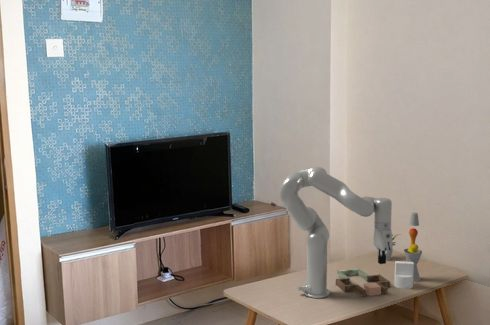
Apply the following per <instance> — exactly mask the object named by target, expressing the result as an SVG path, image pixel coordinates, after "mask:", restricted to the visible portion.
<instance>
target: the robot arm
mask: <svg viewBox="0 0 490 325" xmlns="http://www.w3.org/2000/svg"><path fill="white" fill-rule="evenodd" d="M307 187H313V188H314V189H317V190H319V191H320V192H322V193H324V194H326V195H327V196H329V197H330V198H333V199H335V201H337V202H338V203H340V204H341V205H342V206H343V207H345V208H347V209H349V211H351V212H353V213H356V214H357V215H359V216H360V217H365V218H366V217H367V218H368V217H371V215H373V214H374V223H373V224H374V226H373V227H374V231H373V246H374V247H375V249H376V251H377V263H378V264H379V265H384V264H385V265H386V263H387V260H386V255H387V254H389V250H392V249H393V246H394V245H393V244H392V243H393V241H392V238H393V236H392V235H393V231H392V207H393V206H392V204H393V203H392V200H391V199H390V198H386V197H379V198H377V197H372V196H363V197H361V196H359V195H358V194H356V193H355V192H353V191H352V190H351V189H350V188H349V187H348V185H347V184H345V183H344V182H343V181H341V180H340V179H337V178H336V177H334V176H332V175H330V174H329V173H328V172H327V170H326V169H325V168H323V167H320V166H315V167H311V168H307V169H302V170H299V171H293V172H291V173H290V174H289V175H288V176H287V177H286V178H284V180H283V182H282V183H281V186H280V189H279V197H280V200H281V203H282V204H283V206H284V208H286V210H287V212H288V214H289V215H290V217H291V218H292V220H293V222H294V223H295V225H296V226H297V227H298V228H299V230H301V231H304V232H306V233H307V238H306V282H305V283H304V285H303V286H297V287H296V290H297V291H301V292H302V293H303V294H304V296H306V297H309V298H313V299H323V298H326V297H329V296H330V294H331V291H330V290H329V289H328V286H327V284H328V283H327V280H328V242H329V237H330V232H329V229H328V227H327V226H326V224H325V223H324V221H323V220H322V218H321V217H320V216H319V214H318V212H317V211H316V210H315V209H313V208H312V207H311V206H307V205H306V204H305V203H304V201H303V199H302V198H301V197H300V196H299V192H300V190H301V189H302V188H303V189H304V188H307Z"/></svg>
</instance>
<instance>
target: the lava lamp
mask: <svg viewBox="0 0 490 325" xmlns="http://www.w3.org/2000/svg"><path fill="white" fill-rule="evenodd" d="M419 222H420V221H419V214H418V212H411V214H410V218H409V222H408V223H409V224H408V225H409V226H412V227H413V228H410V229H409V230H408V234H409V237H410V244H409V247H408V248H404V249H403V252H404V253H403V254H404V255H405V256H404V257H405V259H406V262H413V263H414V270H413V283H418V282H420V281H421V276H420V273H419V270H418V263H419V261H420V258H421V256H422V253H423V251H422V250H421V249H419V246H418V244H416V239H417V237H418V235H419V234H418V232H419V231H418V229H416V228H414V227H419V226H420V223H419Z"/></svg>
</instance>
